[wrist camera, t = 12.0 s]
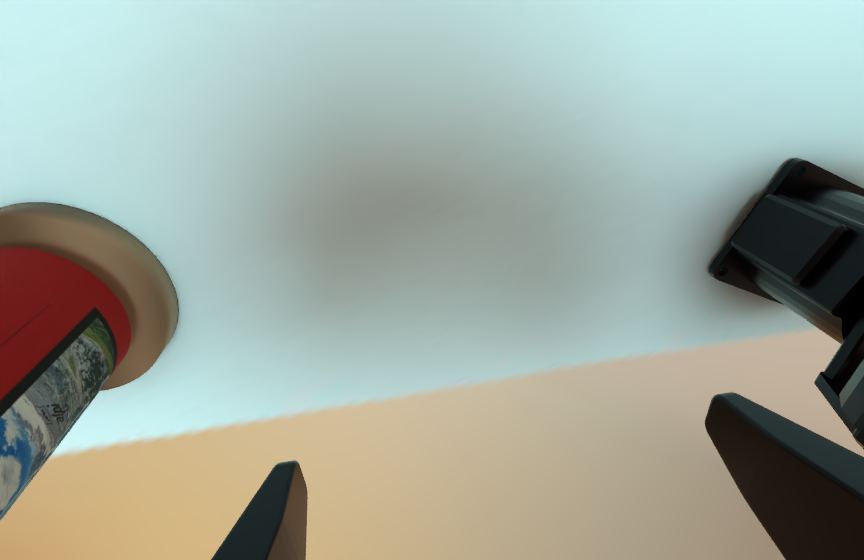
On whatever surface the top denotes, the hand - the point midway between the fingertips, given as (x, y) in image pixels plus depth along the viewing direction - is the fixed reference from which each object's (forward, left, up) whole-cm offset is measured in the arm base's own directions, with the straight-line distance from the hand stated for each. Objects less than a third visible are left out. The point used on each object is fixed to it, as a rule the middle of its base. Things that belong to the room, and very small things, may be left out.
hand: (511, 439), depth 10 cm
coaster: (+15, +9, -13) cm, 22 cm away
